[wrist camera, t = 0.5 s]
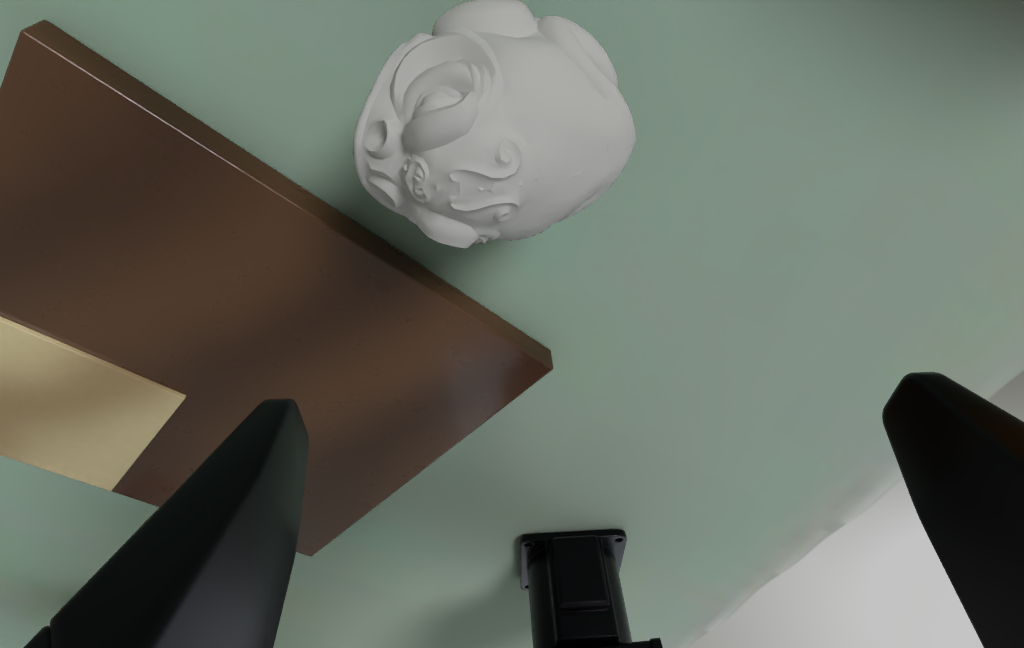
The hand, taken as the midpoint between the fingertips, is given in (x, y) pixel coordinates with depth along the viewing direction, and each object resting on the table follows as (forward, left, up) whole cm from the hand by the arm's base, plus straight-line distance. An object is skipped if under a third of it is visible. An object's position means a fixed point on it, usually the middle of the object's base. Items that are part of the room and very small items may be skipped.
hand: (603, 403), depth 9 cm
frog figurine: (0, +1, -13) cm, 13 cm away
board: (-12, +13, -13) cm, 22 cm away
